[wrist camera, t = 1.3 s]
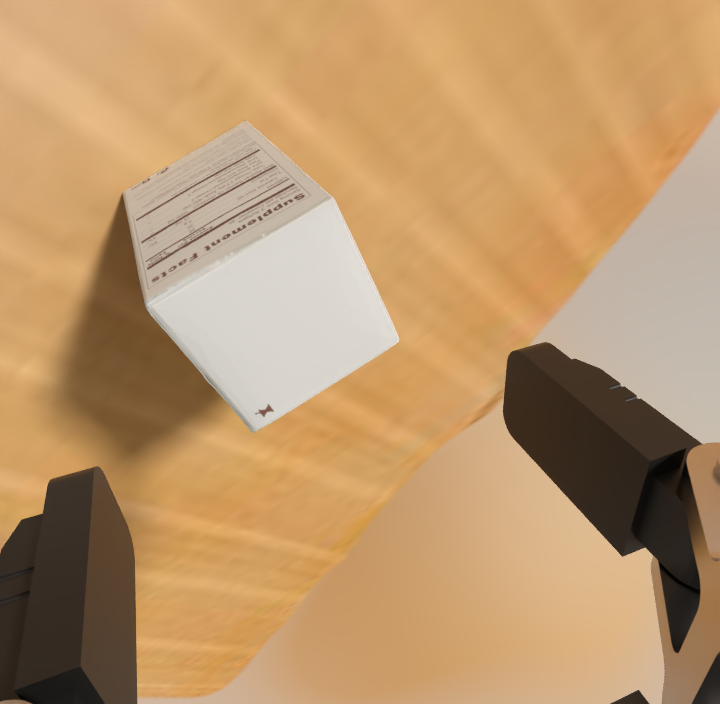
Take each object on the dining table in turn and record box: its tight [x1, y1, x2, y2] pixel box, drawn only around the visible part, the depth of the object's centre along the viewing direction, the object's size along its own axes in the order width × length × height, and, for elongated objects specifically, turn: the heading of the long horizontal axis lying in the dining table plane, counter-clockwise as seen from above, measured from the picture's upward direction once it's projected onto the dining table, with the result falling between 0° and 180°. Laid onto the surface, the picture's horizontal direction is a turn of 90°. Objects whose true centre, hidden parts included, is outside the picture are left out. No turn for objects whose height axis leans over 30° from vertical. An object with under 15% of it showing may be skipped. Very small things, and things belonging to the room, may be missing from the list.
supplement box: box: [123, 121, 399, 432], centre depth 25 cm, size 7×7×13 cm
